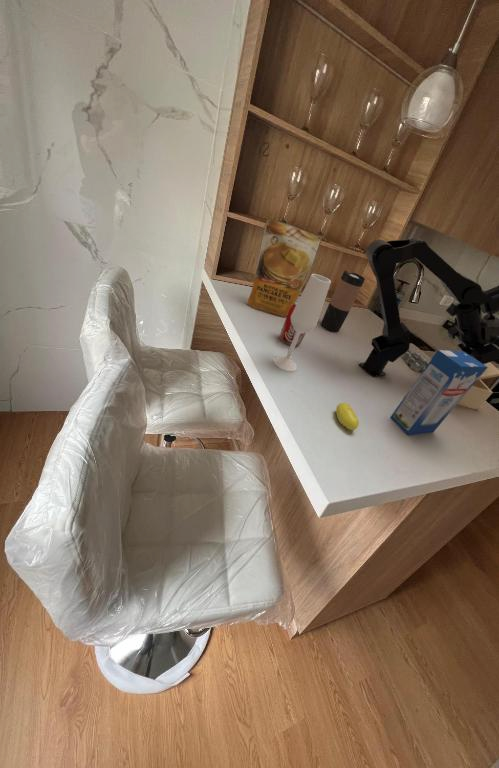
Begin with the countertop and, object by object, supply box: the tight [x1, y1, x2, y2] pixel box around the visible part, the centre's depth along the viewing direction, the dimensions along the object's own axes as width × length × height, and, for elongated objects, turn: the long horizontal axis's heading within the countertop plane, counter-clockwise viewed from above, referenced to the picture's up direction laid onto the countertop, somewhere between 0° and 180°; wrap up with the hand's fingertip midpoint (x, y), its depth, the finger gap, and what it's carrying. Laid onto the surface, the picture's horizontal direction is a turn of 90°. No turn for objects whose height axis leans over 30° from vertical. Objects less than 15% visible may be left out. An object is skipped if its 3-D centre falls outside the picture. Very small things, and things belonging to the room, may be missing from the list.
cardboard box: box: [456, 379, 494, 411], centre depth 103 cm, size 10×12×7 cm
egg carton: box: [401, 349, 430, 373], centre depth 115 cm, size 11×8×4 cm
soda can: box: [279, 300, 306, 346], centre depth 98 cm, size 7×7×12 cm
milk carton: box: [390, 349, 488, 436], centre depth 77 cm, size 10×6×20 cm, turn 114°
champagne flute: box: [273, 273, 332, 372], centre depth 82 cm, size 7×7×24 cm
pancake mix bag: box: [245, 219, 322, 318], centre depth 110 cm, size 7×19×28 cm, turn 87°
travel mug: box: [320, 270, 366, 333], centre depth 115 cm, size 8×8×20 cm
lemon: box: [335, 402, 360, 431], centre depth 73 cm, size 4×8×4 cm, turn 7°
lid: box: [478, 362, 499, 380], centre depth 99 cm, size 10×12×1 cm
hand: (477, 365), depth 98 cm, fingers closed, pressing on lid
